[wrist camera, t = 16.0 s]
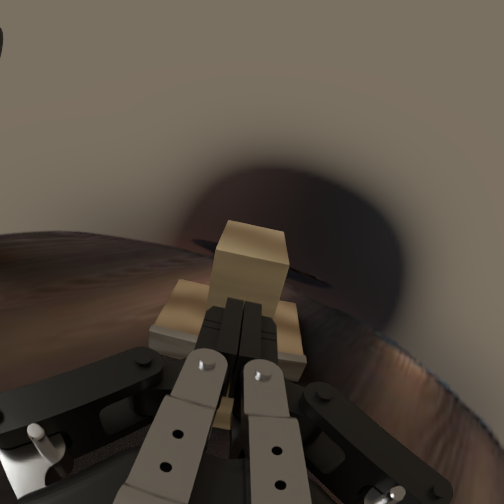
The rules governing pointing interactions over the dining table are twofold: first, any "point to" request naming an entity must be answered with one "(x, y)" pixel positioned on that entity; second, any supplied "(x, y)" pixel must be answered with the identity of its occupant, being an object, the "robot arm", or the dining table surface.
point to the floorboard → (191, 318)
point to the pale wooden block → (247, 278)
